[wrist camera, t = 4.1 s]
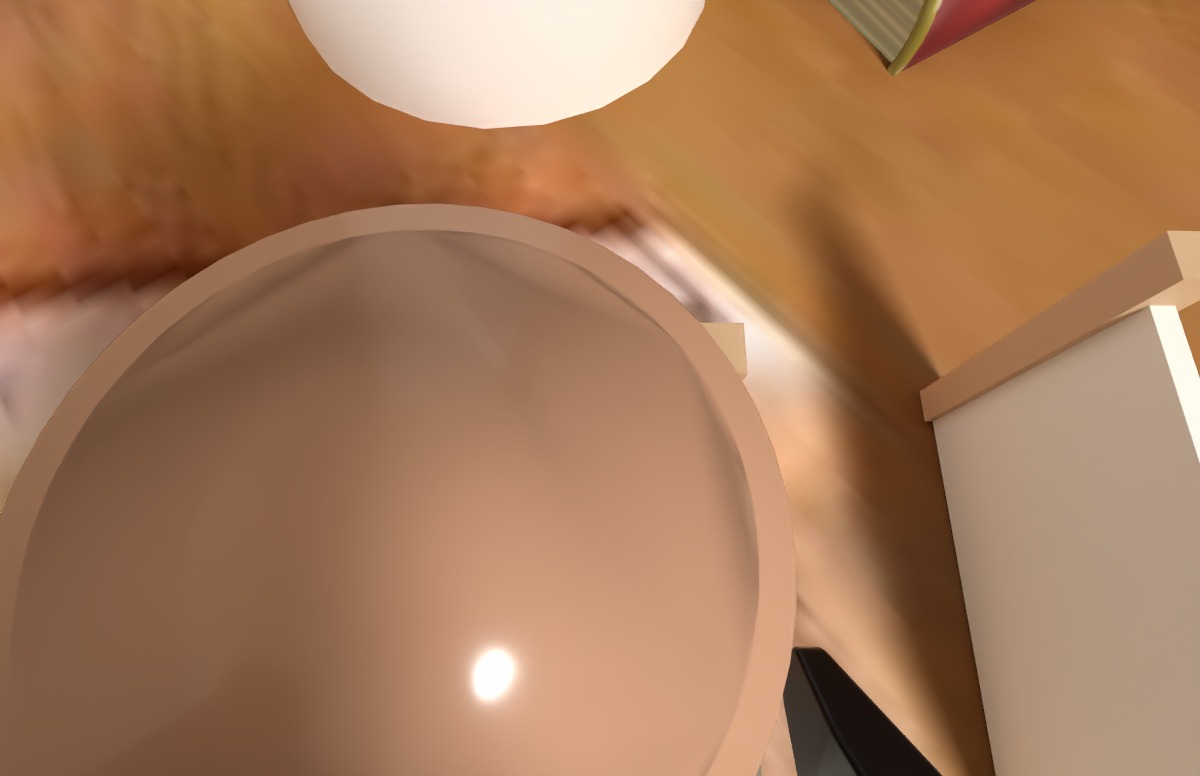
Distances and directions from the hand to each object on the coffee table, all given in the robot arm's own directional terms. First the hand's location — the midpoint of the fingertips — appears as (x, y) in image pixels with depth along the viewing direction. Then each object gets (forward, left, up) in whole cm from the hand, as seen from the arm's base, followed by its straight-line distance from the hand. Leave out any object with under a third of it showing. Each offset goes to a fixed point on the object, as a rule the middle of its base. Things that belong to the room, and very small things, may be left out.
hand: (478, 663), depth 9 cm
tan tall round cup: (0, +1, -9) cm, 9 cm away
